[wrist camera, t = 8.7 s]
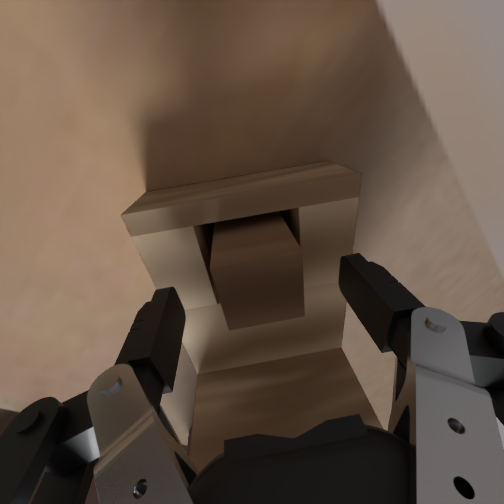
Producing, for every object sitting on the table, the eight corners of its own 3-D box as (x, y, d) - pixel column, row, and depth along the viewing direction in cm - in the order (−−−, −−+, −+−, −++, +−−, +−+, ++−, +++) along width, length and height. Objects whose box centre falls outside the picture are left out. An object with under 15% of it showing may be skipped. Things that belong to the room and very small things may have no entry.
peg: (215, 210, 15) (209, 268, 9) (272, 200, 15) (302, 251, 9) (227, 258, 17) (228, 330, 11) (277, 249, 17) (304, 316, 11)
